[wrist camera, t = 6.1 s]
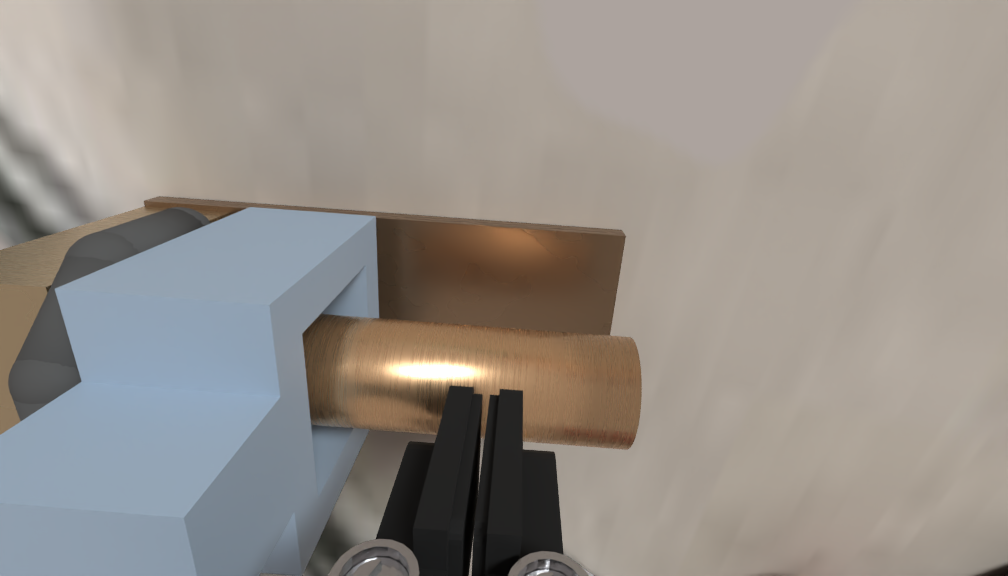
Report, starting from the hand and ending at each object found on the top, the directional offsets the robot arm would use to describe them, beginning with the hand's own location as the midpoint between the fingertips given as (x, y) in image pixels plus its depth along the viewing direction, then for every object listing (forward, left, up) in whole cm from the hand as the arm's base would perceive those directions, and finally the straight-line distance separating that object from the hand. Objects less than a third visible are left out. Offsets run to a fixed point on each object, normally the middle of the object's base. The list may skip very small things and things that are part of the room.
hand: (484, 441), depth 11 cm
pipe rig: (+5, 0, -8) cm, 10 cm away
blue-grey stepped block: (+6, 0, -6) cm, 8 cm away
